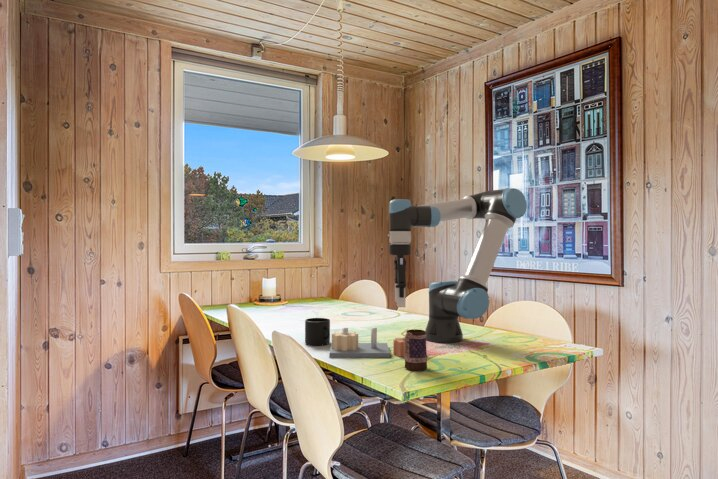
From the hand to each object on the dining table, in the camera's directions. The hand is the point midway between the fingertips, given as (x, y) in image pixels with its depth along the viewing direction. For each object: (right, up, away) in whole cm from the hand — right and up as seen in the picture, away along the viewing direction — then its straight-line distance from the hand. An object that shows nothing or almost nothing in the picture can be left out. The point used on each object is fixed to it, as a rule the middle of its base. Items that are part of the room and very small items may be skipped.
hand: (400, 304), depth 175 cm
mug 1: (-29, -17, +16) cm, 37 cm away
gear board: (-14, -17, +2) cm, 22 cm away
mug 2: (+2, -18, -21) cm, 27 cm away
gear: (+2, -17, -1) cm, 17 cm away
